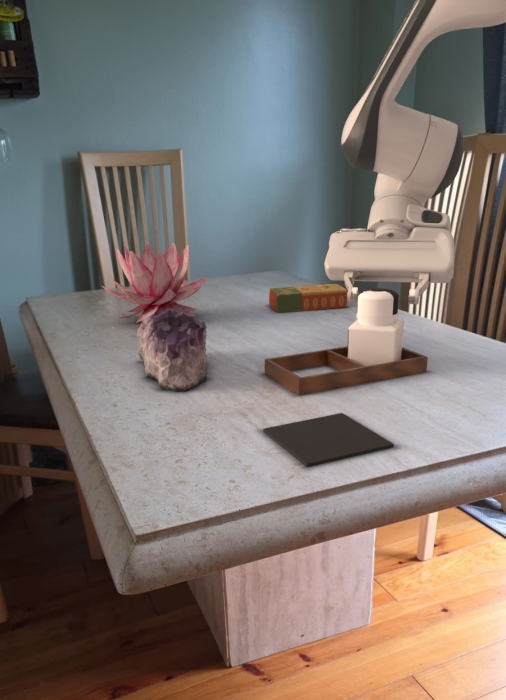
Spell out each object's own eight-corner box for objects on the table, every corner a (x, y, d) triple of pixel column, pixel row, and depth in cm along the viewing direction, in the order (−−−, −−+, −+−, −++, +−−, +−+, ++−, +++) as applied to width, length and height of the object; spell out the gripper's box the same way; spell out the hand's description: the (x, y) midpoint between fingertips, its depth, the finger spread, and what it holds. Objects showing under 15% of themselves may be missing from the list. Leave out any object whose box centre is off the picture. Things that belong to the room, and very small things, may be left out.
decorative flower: (100, 334, 123) (89, 254, 117) (118, 311, 142) (109, 242, 136) (208, 329, 123) (203, 250, 117) (211, 308, 143) (207, 239, 136)
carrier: (383, 355, 103) (384, 340, 102) (426, 372, 94) (428, 356, 93) (264, 374, 95) (264, 358, 94) (298, 396, 86) (298, 378, 85)
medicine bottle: (356, 360, 101) (359, 285, 96) (401, 363, 98) (406, 286, 93) (346, 373, 95) (348, 293, 90) (393, 377, 92) (398, 295, 87)
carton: (347, 308, 138) (348, 288, 136) (276, 313, 135) (276, 293, 134) (336, 301, 145) (336, 282, 143) (268, 305, 143) (268, 286, 141)
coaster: (341, 416, 79) (342, 412, 78) (393, 448, 69) (393, 443, 69) (263, 432, 75) (263, 428, 74) (306, 468, 65) (307, 463, 65)
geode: (230, 387, 90) (218, 321, 86) (153, 406, 89) (136, 339, 84) (206, 347, 108) (194, 290, 103) (140, 362, 106) (126, 305, 102)
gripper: (329, 215, 102) (314, 287, 97) (460, 214, 95) (450, 291, 91) (334, 241, 107) (320, 309, 103) (458, 242, 101) (448, 315, 97)
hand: (382, 301), depth 97 cm, fingers open, 8 cm apart
